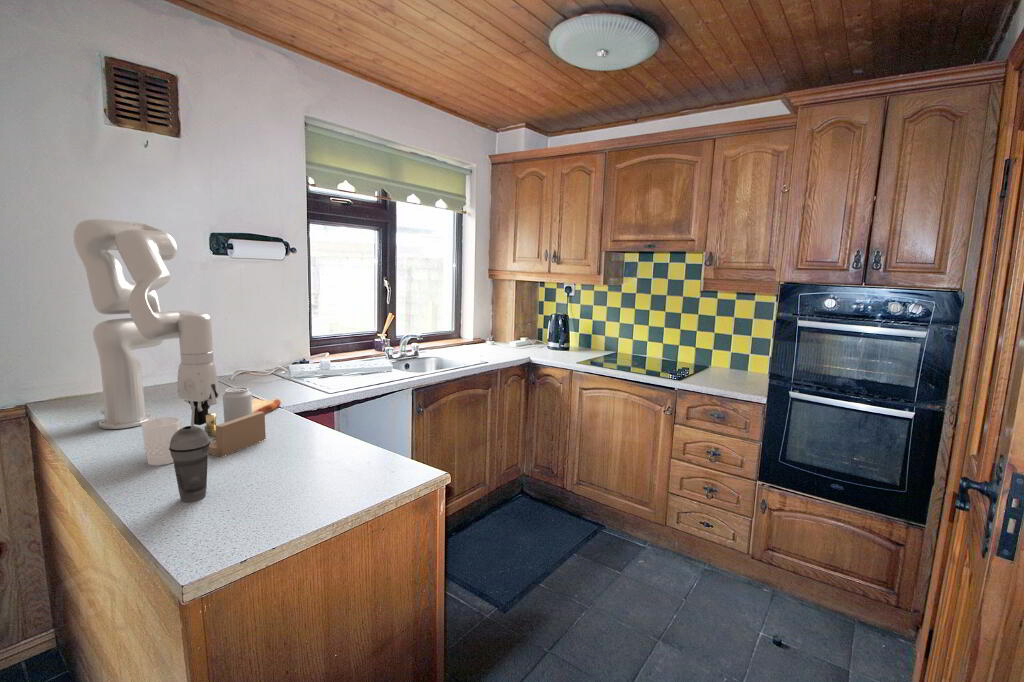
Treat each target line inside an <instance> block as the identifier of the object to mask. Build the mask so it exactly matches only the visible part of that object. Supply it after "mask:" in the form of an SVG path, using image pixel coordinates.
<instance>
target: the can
mask: <svg viewBox="0 0 1024 682" xmlns="http://www.w3.org/2000/svg"><path fill="white" fill-rule="evenodd" d="M224 391H225V392H224V394H222V404H223V423H225V422H228V421H231V420H234V419H237V418H240V417H243V416H246V415H249V414H252V399H253V397H252V392H251V391H250V388H249V387H247V386H246V387H245V386H237V387H235V386H234V387H229V388H226V389H225V390H224Z"/></svg>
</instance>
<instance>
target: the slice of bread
mask: <svg viewBox="0 0 1024 682" xmlns="http://www.w3.org/2000/svg"><path fill="white" fill-rule="evenodd" d="M281 404H282V402H281V400H280V399H279V398H274V400H265V399H261V398H252V413H255V412H258V411H260V412H265V415H267V413H268V414H270V413H271V412H273V411H275V410H276V409H277V408H278V407H279V406H280V405H281Z"/></svg>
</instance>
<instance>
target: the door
mask: <svg viewBox="0 0 1024 682" xmlns="http://www.w3.org/2000/svg"><path fill="white" fill-rule="evenodd" d="M265 415H266V414H265V412H260V411H258V412H255V413H252V414H249V415H246V416H243V417H240V418H237V419H234V420H231V421H228V422H225V423H224V422H223V423H220V424H216V426H215V427H216V436H212V435H208V437H209V441H210V445H209V454H208V455H211V454H214V455H213V456H216V455H218V456H217V457H221V456H224V457H226V456H229V455H231V454H233V453H232V452H234V453H236V452H238V451H237V450H239V449H241V450H243V449H242V448H244V449H246V448H248V447H251V446H253V445H256V444H258V443H260V442H259V441H261V442H263V441H265V440H264V439H266V437H267V436H266V417H265ZM186 426H191V422H188V423H186V424H182V425H181V428H183V427H186ZM194 426H197V427H200V428H201V429H203V430H204V431H205V429H206V423H205V424H202V425H195V424H194ZM205 432H206V431H205ZM262 440H263V441H262ZM257 442H258V443H257ZM255 443H256V444H255ZM252 444H253V445H252ZM250 445H251V446H250ZM247 446H248V447H247ZM245 447H246V448H245ZM235 451H236V452H235ZM239 451H240V450H239ZM230 453H231V454H230ZM228 454H229V455H228ZM225 455H226V456H225Z"/></svg>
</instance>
